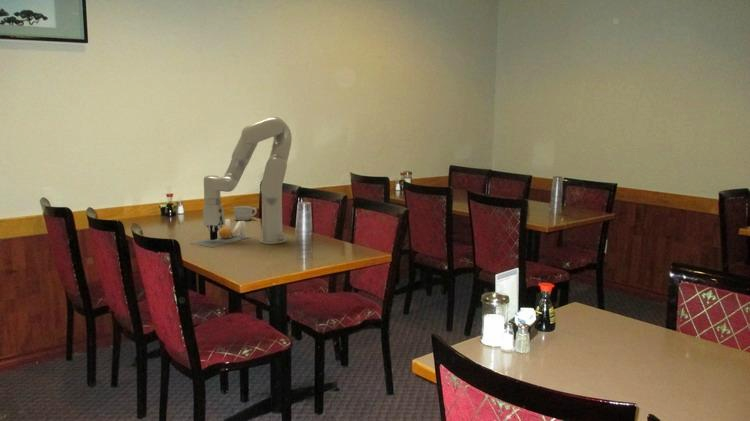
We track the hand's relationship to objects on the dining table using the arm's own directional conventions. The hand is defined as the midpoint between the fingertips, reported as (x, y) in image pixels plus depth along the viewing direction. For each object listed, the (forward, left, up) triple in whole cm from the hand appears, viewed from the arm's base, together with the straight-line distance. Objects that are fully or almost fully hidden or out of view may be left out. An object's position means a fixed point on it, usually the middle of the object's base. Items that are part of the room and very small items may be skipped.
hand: (213, 239), depth 282 cm
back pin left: (-5, -14, -2) cm, 15 cm away
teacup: (+28, -52, -2) cm, 59 cm away
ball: (+1, -9, +2) cm, 9 cm away
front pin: (0, -12, -1) cm, 12 cm away
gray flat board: (0, -5, -2) cm, 5 cm away
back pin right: (+5, -14, -2) cm, 15 cm away
